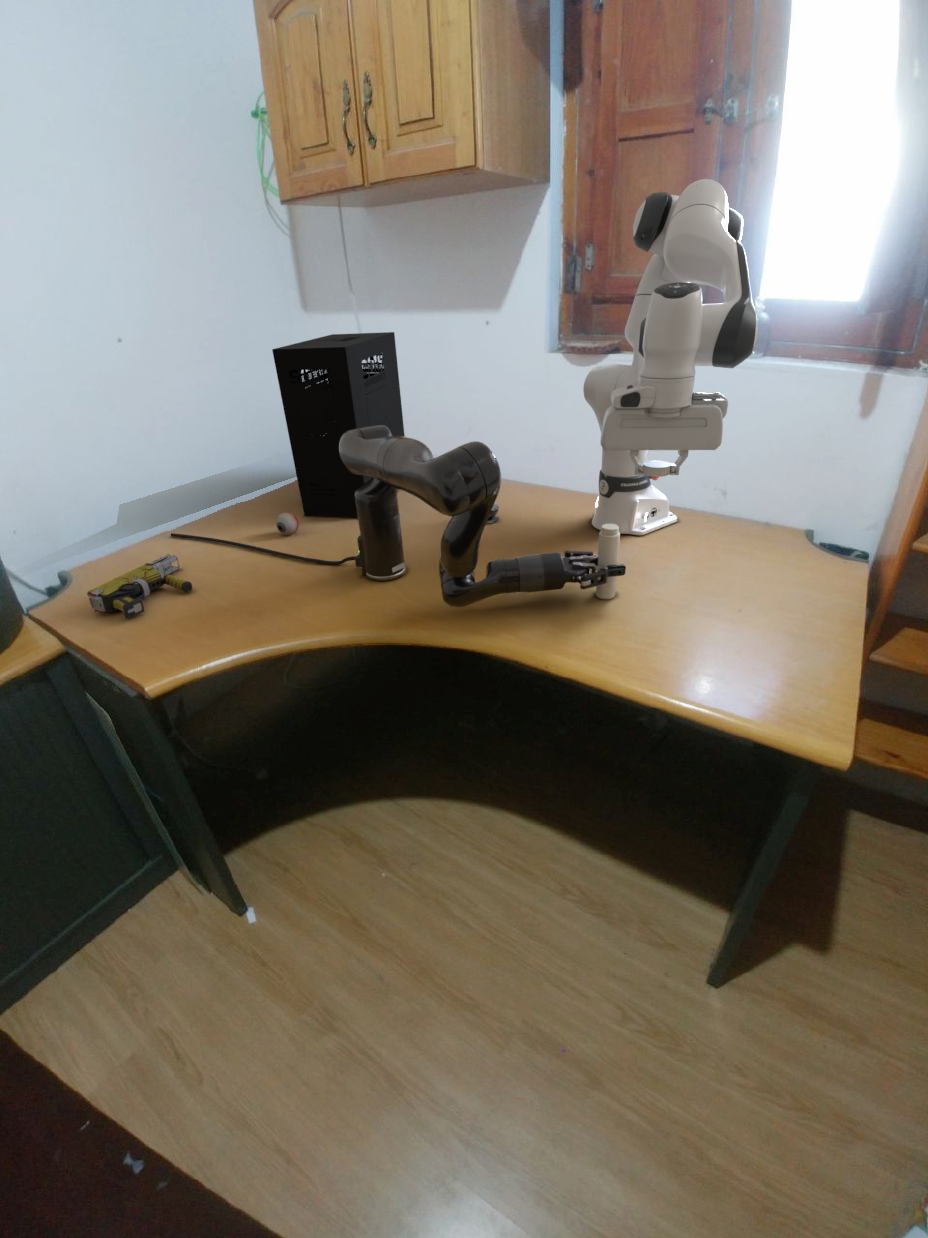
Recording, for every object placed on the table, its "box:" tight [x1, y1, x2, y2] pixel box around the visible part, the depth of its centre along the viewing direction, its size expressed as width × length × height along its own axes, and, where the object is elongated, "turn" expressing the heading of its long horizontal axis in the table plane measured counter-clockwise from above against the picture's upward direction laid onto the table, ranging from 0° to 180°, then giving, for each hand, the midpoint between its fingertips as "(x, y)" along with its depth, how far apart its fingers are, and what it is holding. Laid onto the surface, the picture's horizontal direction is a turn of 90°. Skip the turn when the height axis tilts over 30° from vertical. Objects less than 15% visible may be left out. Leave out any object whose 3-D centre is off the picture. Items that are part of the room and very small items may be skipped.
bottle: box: [595, 524, 621, 600], centre depth 122 cm, size 4×4×15 cm
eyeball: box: [275, 511, 300, 536], centre depth 163 cm, size 6×6×6 cm
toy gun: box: [86, 553, 193, 620], centre depth 136 cm, size 5×24×15 cm
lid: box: [643, 459, 671, 478], centre depth 108 cm, size 5×5×2 cm
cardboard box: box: [271, 331, 406, 519], centre depth 180 cm, size 38×20×45 cm, turn 167°
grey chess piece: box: [486, 503, 500, 524], centre depth 164 cm, size 6×6×12 cm
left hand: (620, 564), depth 123 cm, fingers closed on bottle, 4 cm apart
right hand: (655, 474), depth 108 cm, fingers closed on lid, 5 cm apart
